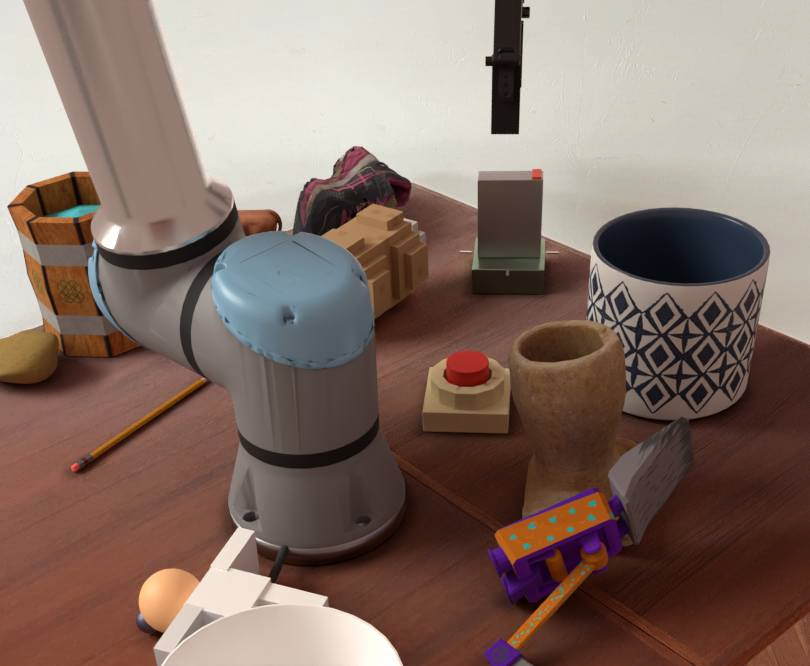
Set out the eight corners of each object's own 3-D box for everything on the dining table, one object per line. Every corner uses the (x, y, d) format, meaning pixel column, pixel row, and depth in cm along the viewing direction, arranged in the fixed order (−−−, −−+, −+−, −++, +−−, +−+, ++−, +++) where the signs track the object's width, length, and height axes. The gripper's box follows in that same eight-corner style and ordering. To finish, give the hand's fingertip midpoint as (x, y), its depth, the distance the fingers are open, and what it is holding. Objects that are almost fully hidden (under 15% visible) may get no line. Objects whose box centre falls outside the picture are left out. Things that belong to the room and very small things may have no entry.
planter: (571, 342, 117) (579, 211, 108) (723, 333, 117) (744, 202, 108) (596, 429, 105) (607, 290, 96) (765, 420, 105) (793, 280, 96)
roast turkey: (449, 287, 127) (447, 203, 121) (353, 360, 116) (346, 271, 110) (377, 267, 132) (372, 184, 125) (279, 334, 121) (268, 248, 114)
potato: (84, 339, 117) (41, 377, 111) (55, 381, 122) (12, 419, 116) (29, 292, 115) (-17, 329, 109) (2, 337, 120) (-43, 374, 114)
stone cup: (516, 440, 104) (520, 294, 94) (647, 452, 102) (665, 304, 92) (489, 545, 93) (490, 392, 83) (634, 562, 91) (653, 406, 81)
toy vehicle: (695, 471, 90) (787, 622, 82) (455, 578, 92) (521, 737, 83) (686, 407, 83) (786, 565, 74) (426, 524, 84) (496, 692, 76)
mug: (46, 368, 118) (5, 234, 108) (44, 308, 128) (7, 181, 118) (231, 335, 121) (208, 202, 111) (216, 280, 131) (193, 153, 121)
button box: (507, 433, 105) (508, 397, 103) (422, 431, 106) (421, 395, 104) (510, 387, 111) (511, 352, 109) (430, 385, 112) (429, 350, 110)
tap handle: (477, 257, 126) (477, 177, 120) (478, 247, 128) (478, 168, 122) (540, 257, 126) (543, 177, 120) (540, 247, 127) (543, 168, 121)
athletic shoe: (261, 219, 127) (357, 228, 123) (329, 102, 138) (420, 107, 134) (287, 294, 136) (378, 304, 132) (350, 179, 147) (435, 185, 143)
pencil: (76, 473, 103) (73, 466, 103) (71, 472, 104) (68, 465, 103) (215, 378, 115) (213, 371, 115) (210, 377, 115) (208, 370, 115)
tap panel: (557, 301, 124) (559, 275, 122) (456, 300, 125) (456, 274, 123) (558, 255, 132) (559, 230, 130) (463, 254, 134) (462, 229, 132)
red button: (487, 389, 105) (487, 373, 104) (444, 388, 105) (444, 372, 104) (489, 366, 108) (489, 350, 107) (448, 365, 108) (447, 349, 107)
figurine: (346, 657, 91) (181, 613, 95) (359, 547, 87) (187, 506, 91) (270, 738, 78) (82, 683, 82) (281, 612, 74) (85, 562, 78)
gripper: (556, -104, 91) (543, 155, 105) (554, -156, 110) (544, 69, 124) (463, -102, 92) (463, 154, 105) (477, -154, 111) (476, 69, 124)
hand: (506, 109), depth 115 cm, fingers open, 13 cm apart
